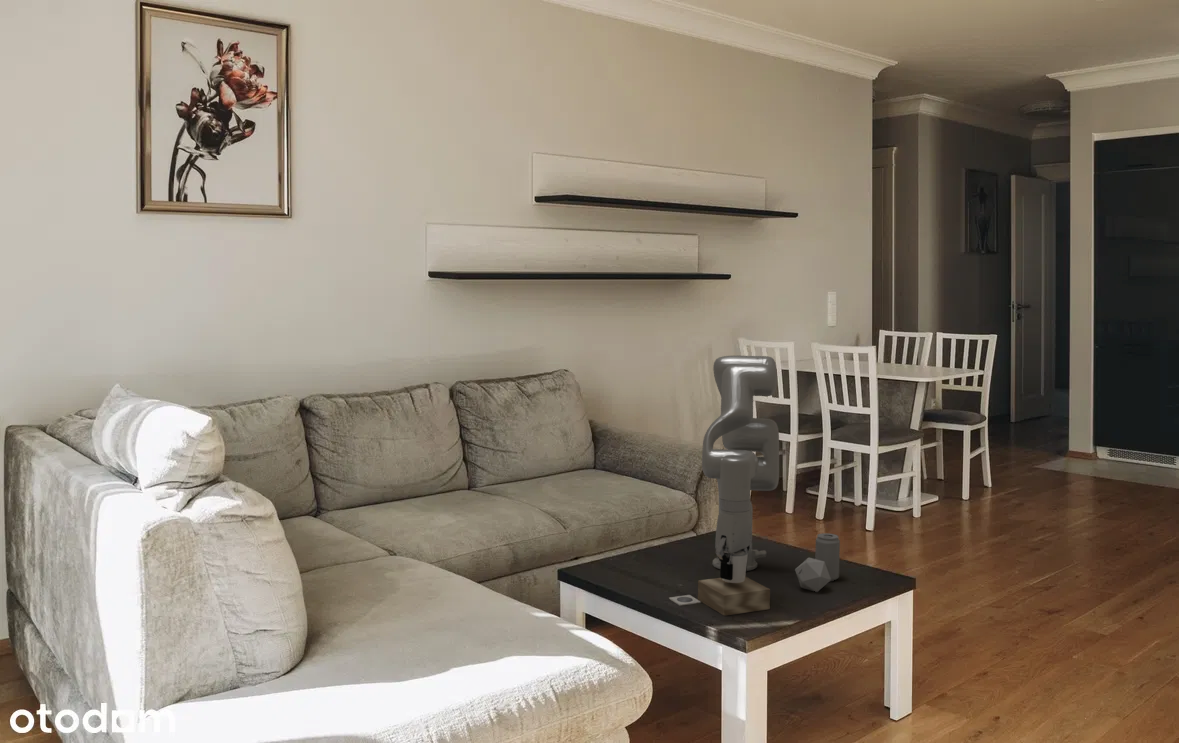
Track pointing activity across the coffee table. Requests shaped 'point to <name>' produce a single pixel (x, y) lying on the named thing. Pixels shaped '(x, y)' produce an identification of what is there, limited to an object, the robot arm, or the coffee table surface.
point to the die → (812, 574)
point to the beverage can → (828, 553)
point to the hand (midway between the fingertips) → (733, 575)
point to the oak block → (733, 596)
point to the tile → (684, 600)
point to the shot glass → (738, 566)
